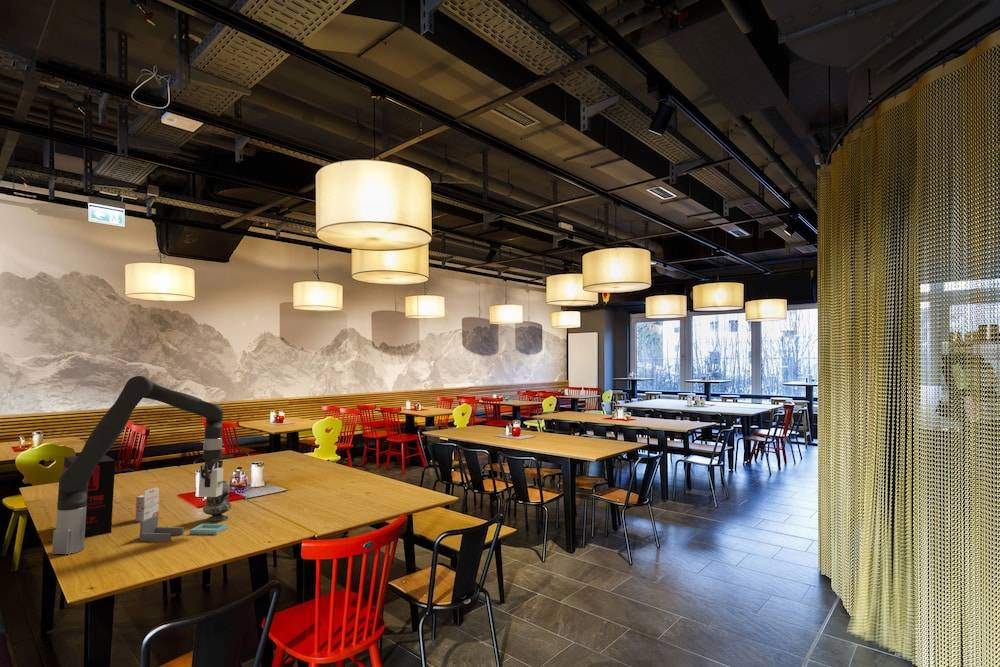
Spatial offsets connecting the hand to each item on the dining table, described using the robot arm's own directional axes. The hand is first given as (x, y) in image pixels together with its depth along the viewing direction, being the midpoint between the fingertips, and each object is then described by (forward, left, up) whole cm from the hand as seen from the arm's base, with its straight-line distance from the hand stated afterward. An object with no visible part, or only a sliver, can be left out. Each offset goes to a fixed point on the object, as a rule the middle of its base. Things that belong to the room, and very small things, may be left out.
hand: (210, 485), depth 234 cm
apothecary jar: (+18, +7, -21) cm, 28 cm away
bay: (-9, +15, -20) cm, 27 cm away
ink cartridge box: (+17, +41, -21) cm, 49 cm away
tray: (0, 0, -20) cm, 20 cm away
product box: (0, +57, -21) cm, 61 cm away
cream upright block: (0, 0, -4) cm, 4 cm away
